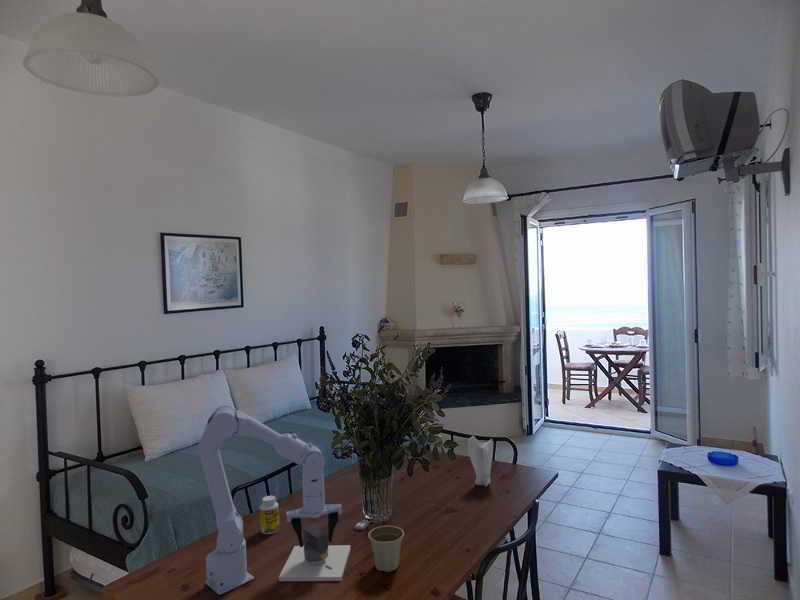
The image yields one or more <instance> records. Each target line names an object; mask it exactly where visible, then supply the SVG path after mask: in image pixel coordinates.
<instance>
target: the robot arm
mask: <svg viewBox="0 0 800 600" xmlns="http://www.w3.org/2000/svg"><path fill="white" fill-rule="evenodd" d="M235 432H236V436H243V435H247V434H249V435H251V436H253V437H255V438H256V439H257V438H258V439H259V440H261V441H264V442H265V443H268V444H270V445H272V446H274V449H275V452H276V453H277V454H278V455H280V456H281V457H283V458H285V459H287V460H290V461H291V462H292V463H295V464H297V465H301V466H302V478H301V479H302V481H301V482H302V483H301V485H302V503H303V504H302V505H303V506H302V507H300V508H298V509H293V510H289V511H286V522H287V523H288V522H291V527H292V529H293V530H294V532H295V534H296V536H297V539H298V542H299V546H300V547H303V546H304V544H303V542H304V541H303V533H302V530H303V529H302V519H308V518H312V519H315V518H320V517H321V516H327V524H328V525H327V535H328V544H329V543H333V536H334V532H335V529H336V526H337V524H338V521H339V517H340V516H339V515H341V514H342V513H343V507H342V504H341V503H337V504H336V503H333V504H332V503H331V504H326V499H325V495H326V494H325V475H324V467H325V465H326V460H325V457H324V454H323V453H322V451H321V449H320V448H318V447H317V445H315V444H313V443H311V442H308V443H307V442H305V441H303V440H302V439H300V438H298V435H297V434H296V433H295V432H293V433H292V434H291V433H289V432H287V433H283V434H280V433H279V432H277V431H276V430H274V429H272V428H271V427H269V426H267V425H266V424H264V423H262V422H261V421H259V420H257V419H256V418H254V417H253V416H251V415H249V414H247V413H245V412H244V411H241V410H239V409H237V410H236V409H235V408H234V407H232V406H229V405H221V406H219V407H217V408H216V409H215V410H214V411H213V412H212V413H211V415H210V416H209V417H208V420H207V422H206V425H205V428H204V430H203V433H202V435H201V437H200V440H199V443H198V447H197V451H198V455H199V458H200V462H201V466H202V469H203V474H204V477H205V481H206V485H207V488H208V492H209V496H210V499H211V503H212V507H213V510H214V514H215V523H216V528H217V538H216V545H215V546H216V548H215V549H214V550H213V551H211V552H210V553H208V554H206V557H205V572H206V581H205V585H207V586H208V587H209V588H210V589H212V590H213V591H214V592H215V593H216V594H217V595H222V594H226V593H227V592H229V591H231V590H234V589H236V588H239V587H240V586H242V585H245V584H246V583H248V582H250V581H253V580H254V579H255V576H253V575H252V574H251V573H249V572H248V565H247V563H248V561H247V541H246V539H245V538H244V520H243V517H242V516H241V515H240V514H239V513H238V512H237V508H236V506H235V504H234V502H233V497H232V494H231V490H230V489H231V488H230V486H229V483H228V478H227V475H226V470H225V466H224V463H223V461H222V460H223V459H222V457H221V452H220V448H221V446H222V445H223V444H224V442H225V441H226V440H228V439H229V438H231V436H233V435H234V434H235Z"/></svg>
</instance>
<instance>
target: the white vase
mask: <svg viewBox="0 0 800 600" xmlns="http://www.w3.org/2000/svg"><path fill="white" fill-rule="evenodd" d="M467 443H468V445H467V449H468V455H469V457H470V461H471V464H472V467H473V469H474V472H475V476H476V479H475V481H474V484H475V485H476V484H477V485H476V486H479V485H481V486H480V487H488V486H489V485H490V484H491V477H490V476H491V470H492V464H493V463H492V461H493V456H494V455H493V454H494V443H493V438H490V440H488V441H487V442H483V443H481V442H480V441H478V439H477V438H476V437H475V436H474V435H471V437H469V438H468V439H467ZM482 482H483V483H482ZM489 483H490V484H489ZM488 484H489V485H488ZM482 485H484V486H482Z"/></svg>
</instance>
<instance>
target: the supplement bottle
mask: <svg viewBox="0 0 800 600" xmlns="http://www.w3.org/2000/svg"><path fill="white" fill-rule="evenodd" d="M261 501H262V504H260V507H259V518H260V519H259V520H260V521H259V522H260V532H261V534H263V535H273V534H275V533H277V532H278V531H279V529H280V514H279V511H280V510H279V503H278V502H277V499H276V496H275V495H267V496H266V495H265V496H263V498H262V499H261Z"/></svg>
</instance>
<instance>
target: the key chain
mask: <svg viewBox="0 0 800 600" xmlns="http://www.w3.org/2000/svg"><path fill="white" fill-rule="evenodd" d="M368 524H369V525H370V521H368V520H367V519H362V520H360V521H359V522H358V523H357V524H355V525H354V526H353V531H358V530H363V531H364V529H366V528H368V526H369V525H368Z"/></svg>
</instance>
